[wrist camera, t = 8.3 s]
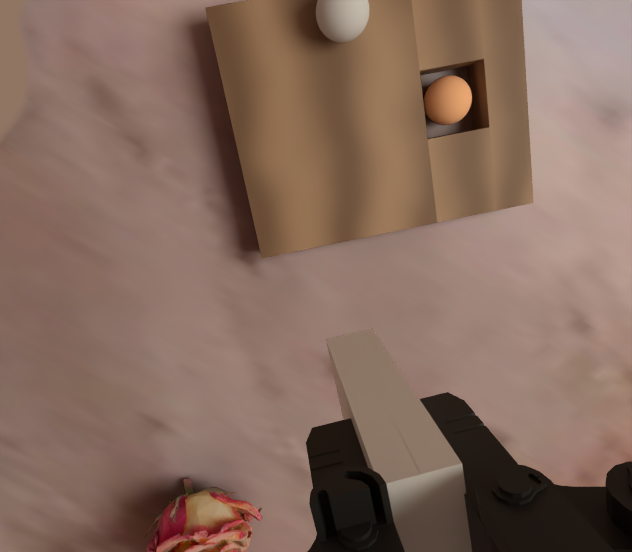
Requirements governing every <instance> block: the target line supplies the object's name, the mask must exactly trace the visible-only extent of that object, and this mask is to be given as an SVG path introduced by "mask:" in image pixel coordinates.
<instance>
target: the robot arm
mask: <svg viewBox="0 0 632 552" xmlns="http://www.w3.org/2000/svg"><path fill="white" fill-rule="evenodd" d="M326 341H327V346H328V351H329V355H330V360H331V365H332V369H333V374H334V378H335V383H336V388H337V392H338V397H339V401H340V406H341V411H342V415H343V418H344V420H342V421H338V422H334V423H330V424H326V425H322V426H318V427H314V428H312V430H311V432H310V434H309V437H308V439H307V441H306V446H307V452H308V458H309V464H310V470H311V477H312V483H313V489H312V491H311V494H310V503H309V504H310V508H311V512H312V516H313V519H314V523H315V527H316V531H317V536H316V539H315V541H314V543H313V545H312V547H311V548H310V549H309V551H308V552H632V462H625V463H622V464H619V465H616V466H614V467H613V468H612V469H611V470H610V471H609V472H608V473H607V477H606V487H570V486H559V485H555V484H553V483H552V481H551V480H550V479H548V478H547V477H546V476H544V475H543V474H542V473H541V472H539V471H537V470H534V469H532V468H530V467H527V466H524V465H518V464H517V462H516V461H515V460H514V459H513V458H512V457H511V455H510V454H509V453H508V452H507V451H506V449H505V448H504V447H503V446H502V445H501V444H500V442H499V441H498V440H497V439H496V438H495V436H494V435H493V434H492V433H491V432H490V431H489V429H488V428H487V427H486V426H484V424H483V422H482V421H481V420H480V419H479V418H478V416H476V415H475V413H474V412H473V410H472V409H471V408H470V407H469V406H468V405H467V403H466V402H465V401H464V400H462V399H460V398H458V397H456V396H454V395H452V394H450V393H448V392H447V393H443V394H439V395H435V396H431V397H427V398H423V399H419V398H418V396H417V395H416V393H415V392H414V390H413V389H412V387H411V386H410V384H409V383H408V381H407V380H406V378H405V377H404V375H403V374H402V372H401V371H400V369H399V368H398V366H397V365H396V363H395V362H394V360H393V359H392V357H391V356H390V354H389V353H388V351H387V349H386V348H385V346H384V345H383V343H382V342H381V340H380V339H379V337H378V336H377V334H376V333H375V331H374V330H373V328H371V329H367V330H363V331H359V332H355V333H351V334H347V335H342V336H338V337H334V338H330V339H326Z"/></svg>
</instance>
